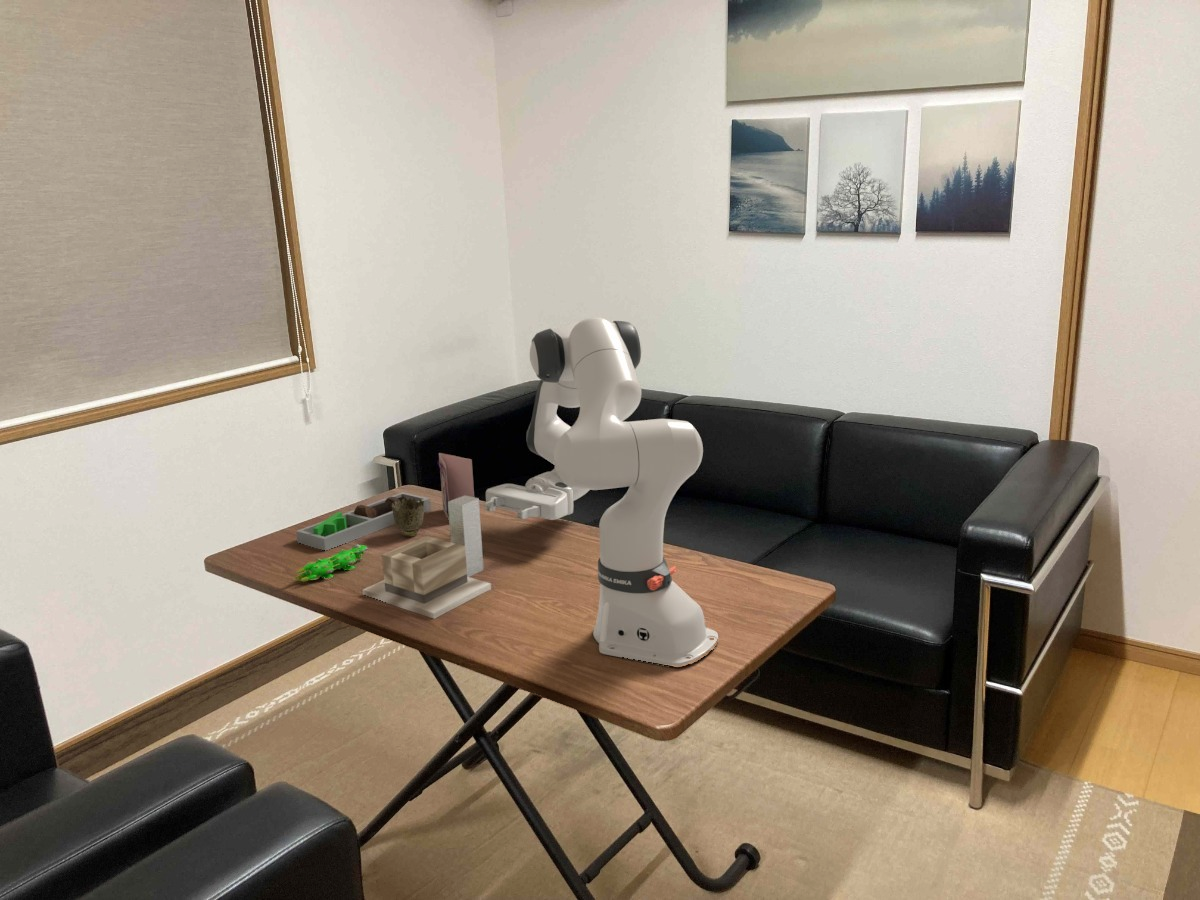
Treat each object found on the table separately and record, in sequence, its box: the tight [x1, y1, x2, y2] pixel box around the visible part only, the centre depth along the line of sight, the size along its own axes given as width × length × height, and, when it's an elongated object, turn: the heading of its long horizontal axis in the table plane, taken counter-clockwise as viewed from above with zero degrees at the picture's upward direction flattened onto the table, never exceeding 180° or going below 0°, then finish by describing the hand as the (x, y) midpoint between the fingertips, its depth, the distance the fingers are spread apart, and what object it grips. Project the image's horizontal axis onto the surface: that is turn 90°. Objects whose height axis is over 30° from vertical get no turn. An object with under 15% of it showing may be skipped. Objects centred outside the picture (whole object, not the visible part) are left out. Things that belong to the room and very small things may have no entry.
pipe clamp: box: [313, 511, 348, 537], centre depth 219 cm, size 11×4×5 cm, turn 166°
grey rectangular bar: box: [448, 495, 485, 578], centre depth 195 cm, size 4×5×16 cm
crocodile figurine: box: [294, 544, 368, 582], centre depth 200 cm, size 7×18×4 cm, turn 143°
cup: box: [391, 498, 425, 538], centre depth 219 cm, size 8×7×8 cm
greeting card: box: [436, 452, 475, 520], centre depth 230 cm, size 11×7×15 cm, turn 18°
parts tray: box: [295, 491, 432, 552], centre depth 227 cm, size 10×33×3 cm, turn 144°
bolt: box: [353, 496, 407, 519], centre depth 232 cm, size 6×5×15 cm
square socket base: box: [362, 535, 492, 620], centre depth 187 cm, size 20×16×9 cm
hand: (503, 511), depth 205 cm, fingers open, 8 cm apart
